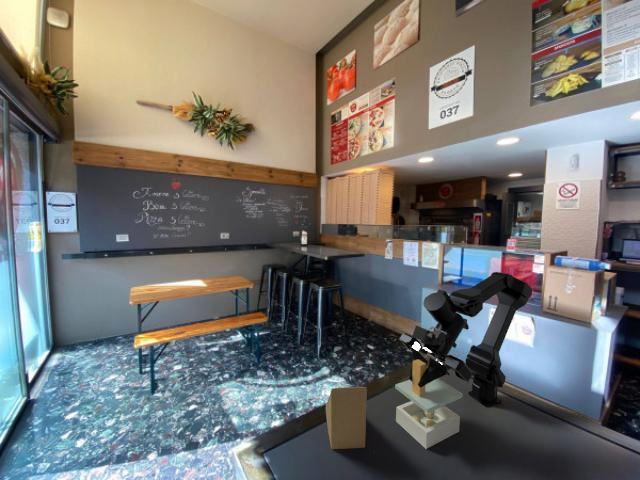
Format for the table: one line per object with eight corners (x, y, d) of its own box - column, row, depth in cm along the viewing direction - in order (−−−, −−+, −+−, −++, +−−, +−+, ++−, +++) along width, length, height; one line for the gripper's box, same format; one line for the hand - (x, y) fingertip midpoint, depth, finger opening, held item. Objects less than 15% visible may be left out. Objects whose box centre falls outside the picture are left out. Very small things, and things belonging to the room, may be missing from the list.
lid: (428, 379, 78) (429, 345, 77) (462, 401, 69) (464, 363, 68) (395, 391, 72) (396, 355, 72) (427, 417, 63) (428, 375, 62)
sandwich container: (353, 404, 80) (354, 355, 79) (366, 448, 64) (367, 387, 63) (324, 405, 79) (325, 355, 78) (330, 449, 64) (331, 388, 63)
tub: (427, 407, 78) (428, 394, 78) (459, 431, 69) (459, 416, 69) (395, 421, 73) (396, 407, 72) (426, 449, 64) (426, 432, 64)
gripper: (405, 304, 78) (373, 350, 73) (466, 327, 61) (429, 388, 57) (423, 326, 82) (394, 371, 77) (485, 353, 65) (453, 412, 61)
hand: (414, 383), depth 68 cm, fingers closed on lid, 2 cm apart
